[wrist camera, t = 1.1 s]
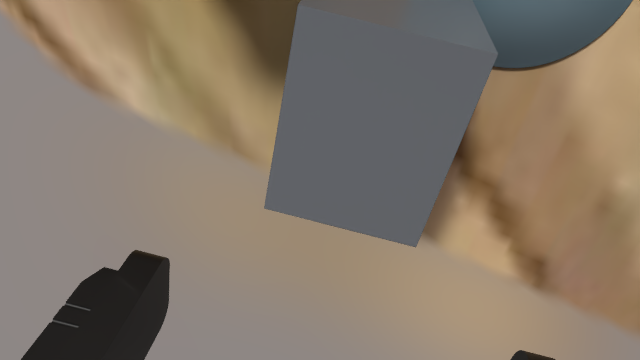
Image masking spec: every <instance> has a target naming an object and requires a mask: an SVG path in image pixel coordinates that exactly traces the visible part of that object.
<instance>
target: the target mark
mask: <svg viewBox="0 0 640 360" xmlns="http://www.w3.org/2000/svg"><path fill="white" fill-rule="evenodd" d="M473 2H474V4H475V7H476V9H477V11H478V13H479V15H480V17H481V19H482V21H483V23H484V25H485V27H486V30H487V32H488V34H489V36H490V38H491V40H492V42H493V44H494V46H495V48H496V50H497V53H498V56H497V58H496V60H495V63H494V65H493V66H496V67H503V68H524V67H533V66H538V65H542V64H547V63H550V62H553V61H556V60H559V59H561V58H564V57H566V56H568V55H570V54H572V53H574V52H576V51H578V50H579V49H581V48H583V47H585V46H586V45H588V44H589V43H591V42H592V41H593V40H595V39H596V38H597V37H599V36H600V35H601V34H603V33H604V32H605V31H606V30H607V29H608V28H609V27H610V26H611V25H612V24H614V22H615V21H616V20H617V19H618V18H619V17H620V16H621V15H622V14H623V12H624V11H625V10H626V9H627V7H628V6H629V4H630V3H631V2H632V0H473Z"/></svg>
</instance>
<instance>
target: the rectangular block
mask: <svg viewBox="0 0 640 360" xmlns="http://www.w3.org/2000/svg"><path fill="white" fill-rule="evenodd" d="M497 56H498V53H497V50H496V48H495V46H494V44H493V42H492V40H491V38H490V36H489V34H488V32H487V30H486V27H485V25H484V23H483V21H482V19H481V17H480V15H479V13H478V11H477V9H476V7H475V4H474V2H473V0H301V1H300V3H299V4H298V7H297V13H296V19H295V25H294V32H293V38H292V44H291V50H290V56H289V62H288V68H287V74H286V80H285V86H284V92H283V98H282V104H281V110H280V116H279V122H278V128H277V134H276V140H275V146H274V152H273V158H272V164H271V170H270V176H269V182H268V188H267V194H266V200H265V206H264V208H265V209H268V210H272V211H277V212H280V213H284V214H288V215H292V216H296V217H300V218H304V219H308V220H312V221H316V222H319V223H323V224H327V225H331V226H335V227H339V228H343V229H347V230H351V231H354V232H359V233H362V234H366V235H370V236H374V237H378V238H382V239H386V240H390V241H394V242H398V243H401V244H406V245H409V246H413V247H416V246H417V243H418V241H419V239H420V236H421V234H422V232H423V229H424V227H425V225H426V222H427V220H428V218H429V215H430V213H431V211H432V208H433V206H434V203H435V201H436V199H437V196H438V194H439V192H440V189H441V187H442V185H443V182H444V180H445V178H446V175H447V173H448V171H449V168H450V166H451V164H452V161H453V159H454V157H455V154H456V152H457V150H458V147H459V145H460V142H461V140H462V138H463V135H464V133H465V131H466V128H467V126H468V124H469V121H470V119H471V117H472V114H473V112H474V110H475V107H476V105H477V103H478V100H479V98H480V96H481V93H482V91H483V88H484V86H485V84H486V81H487V79H488V77H489V74H490V72H491V70H492V67H493V65H494V63H495V60H496V58H497Z"/></svg>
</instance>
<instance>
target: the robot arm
mask: <svg viewBox="0 0 640 360" xmlns="http://www.w3.org/2000/svg"><path fill="white" fill-rule="evenodd" d="M169 268H170V263H169V259H168V258H166V257H161V256H157V255H154V254H150V253H146V252H142V251H138V250H135V251H133V252H132V253H131V254H130V255H129V256H128V258H127V259H126V261H125V262H124V263H123V265H122V266H121V268H120V269H119V270H118V271H116V270H113V269H109V268H105V267H104V268H102V269H101V270H99V271H98V272H96V273H94V274H93V275H91V276H90V277H88V278H87V279H85V280H84V281H82V282H81V283H80V285H79V286H78V287H77V288H76V290H75V291H74V292H73V293H72V295H71V296H70V297H69V299H68V300H67V301H66V304H65V306H62V308H61V309H60V310H59V312H58V313H57V314H56V315H55V317H54V318H53V321H52V322H51V323H49V324H48V325H47V327H46V328H45V329H44V331H43V332H42V333H41V335H40V336H39V337H38V338H37V340H36V341H35V342H34V343H33V345H32V346H31V347H30V349H29V350H28V351H27V352H26V354H25V355H24V356H23V358H22V359H21V360H144V359H145V357H146V355H147V353H148V351H149V349H150V347H151V346H152V344H153V342H154V340H155V338H156V336H157V334H158V333H159V331H160V329H161V326H162V324H163V322H164V319H165V316H166V313H167V309H168V302H169ZM511 360H555V359H553V358H549V357H545V356H542V355H538V354H534V353H530V352H526V351H522V350H520V351H518V352H516V353H515V354H514V356H513V357H512V359H511Z"/></svg>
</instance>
